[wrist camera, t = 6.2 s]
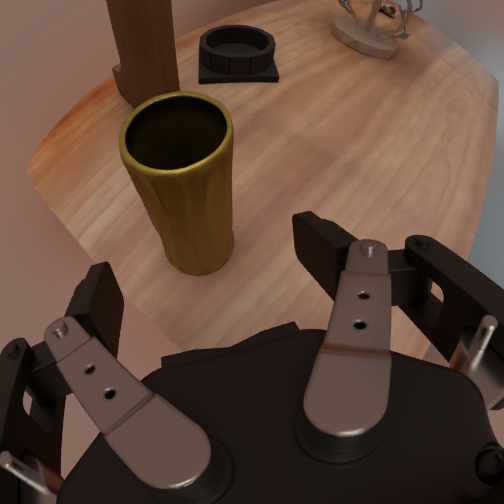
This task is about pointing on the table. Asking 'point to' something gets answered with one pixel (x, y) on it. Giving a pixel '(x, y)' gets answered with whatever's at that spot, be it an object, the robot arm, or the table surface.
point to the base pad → (236, 55)
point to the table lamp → (370, 31)
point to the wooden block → (144, 49)
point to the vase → (184, 175)
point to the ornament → (388, 8)
